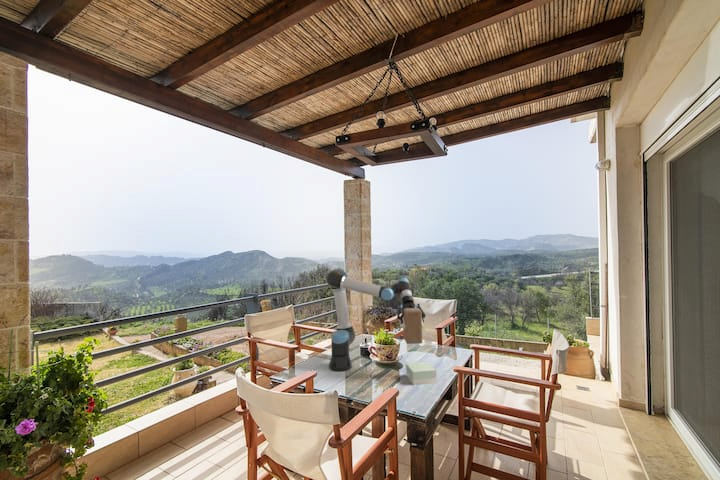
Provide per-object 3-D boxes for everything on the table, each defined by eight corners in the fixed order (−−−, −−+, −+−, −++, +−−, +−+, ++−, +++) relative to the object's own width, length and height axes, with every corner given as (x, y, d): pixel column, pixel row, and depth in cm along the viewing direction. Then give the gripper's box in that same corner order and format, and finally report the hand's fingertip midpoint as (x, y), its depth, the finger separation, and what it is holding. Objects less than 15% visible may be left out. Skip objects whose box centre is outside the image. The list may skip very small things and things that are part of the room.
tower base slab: (413, 385, 188) (413, 378, 188) (406, 376, 202) (406, 369, 202) (436, 383, 190) (436, 377, 190) (427, 374, 204) (427, 368, 204)
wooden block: (422, 343, 196) (421, 310, 196) (406, 344, 196) (405, 311, 196) (419, 339, 206) (418, 307, 206) (404, 339, 206) (403, 308, 206)
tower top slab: (413, 378, 188) (413, 371, 188) (406, 370, 201) (406, 363, 201) (436, 377, 190) (436, 370, 190) (427, 368, 204) (427, 362, 204)
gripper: (423, 301, 218) (431, 330, 202) (389, 302, 216) (394, 331, 200) (425, 294, 213) (433, 323, 197) (390, 295, 211) (395, 325, 195)
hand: (413, 327), depth 199 cm, fingers closed on wooden block, 11 cm apart
